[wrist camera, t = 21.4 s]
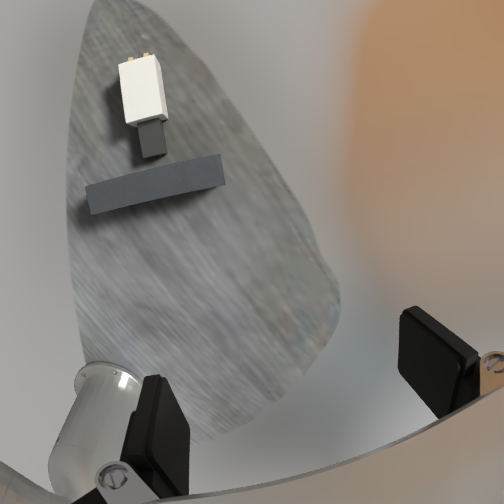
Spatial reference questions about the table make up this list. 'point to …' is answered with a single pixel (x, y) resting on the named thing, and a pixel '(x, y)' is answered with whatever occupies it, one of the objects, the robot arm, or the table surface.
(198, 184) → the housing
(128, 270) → the table surface
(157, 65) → the plug
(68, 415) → the robot arm
